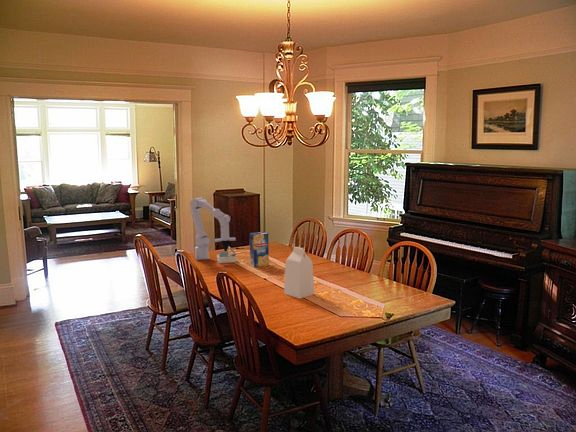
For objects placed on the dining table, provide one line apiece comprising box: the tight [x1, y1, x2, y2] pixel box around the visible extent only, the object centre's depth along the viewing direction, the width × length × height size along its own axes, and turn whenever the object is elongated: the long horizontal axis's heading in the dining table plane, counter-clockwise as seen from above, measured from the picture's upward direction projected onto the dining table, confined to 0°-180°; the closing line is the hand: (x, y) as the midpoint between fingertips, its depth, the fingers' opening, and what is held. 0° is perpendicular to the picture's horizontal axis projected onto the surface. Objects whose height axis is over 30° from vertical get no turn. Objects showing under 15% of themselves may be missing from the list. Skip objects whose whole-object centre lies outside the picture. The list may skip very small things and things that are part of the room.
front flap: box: [218, 250, 229, 257], centre depth 330 cm, size 6×6×1 cm
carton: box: [216, 253, 237, 264], centre depth 338 cm, size 12×9×4 cm
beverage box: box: [249, 231, 270, 268], centre depth 325 cm, size 7×11×22 cm, turn 119°
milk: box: [283, 246, 315, 299], centre depth 262 cm, size 12×12×26 cm
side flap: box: [227, 246, 237, 256], centre depth 338 cm, size 6×8×1 cm
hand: (225, 251), depth 337 cm, fingers closed
